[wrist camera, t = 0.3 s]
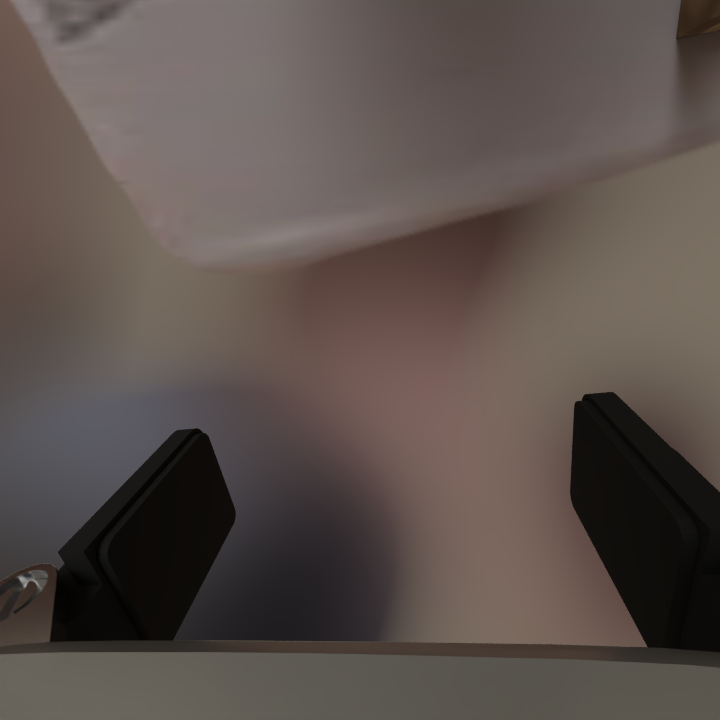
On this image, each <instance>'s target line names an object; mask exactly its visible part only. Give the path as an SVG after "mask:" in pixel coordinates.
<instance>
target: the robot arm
mask: <svg viewBox="0 0 720 720" xmlns="http://www.w3.org/2000/svg"><path fill="white" fill-rule="evenodd" d="M573 424H574V425H573V445H572V465H571V487H570V495H571V500H572V504H573V507H574V509H575V511H576V513H577V515H578V516H579V519H580V521H581V522H582V524H583V526H584V528H585V530H586V532H587V533H588V536H589V537H590V539H591V541H592V543H593V545H594V547H595V548H596V551H597V553H598V554H599V556H600V558H601V560H602V562H603V564H604V566H605V568H606V569H607V571H608V573H609V575H610V577H611V579H612V581H613V583H614V584H615V586H616V588H617V590H618V592H619V594H620V596H621V598H622V599H623V601H624V603H625V605H626V607H627V609H628V611H629V613H630V615H631V617H632V618H633V620H634V622H635V624H636V626H637V628H638V630H639V632H640V633H641V635H642V637H643V639H644V641H645V643H646V644H647V647H617V646H615V647H614V646H586V645H554V644H488V643H486V644H485V643H422V642H421V643H419V642H331V641H330V642H329V641H328V642H327V641H173V639H174V637H175V635H176V633H177V631H178V629H179V627H180V626H181V624H182V622H183V620H184V618H185V616H186V614H187V612H188V610H189V608H190V606H191V605H192V603H193V601H194V599H195V597H196V595H197V593H198V591H199V589H200V587H201V585H202V583H203V581H204V580H205V578H206V576H207V574H208V572H209V570H210V568H211V566H212V564H213V562H214V560H215V558H216V557H217V555H218V553H219V551H220V549H221V547H222V545H223V543H224V541H225V539H226V537H227V536H228V534H229V532H230V530H231V527H232V526H233V524H234V521H235V515H236V514H235V508H234V505H233V502H232V499H231V497H230V494H229V491H228V489H227V486H226V483H225V480H224V478H223V475H222V472H221V469H220V467H219V464H218V461H217V458H216V456H215V453H214V450H213V447H212V445H211V442H210V439H209V437H208V436H207V434H205V433H203V432H202V431H201V430H200V429H185V430H177V431H175V432H174V433H173V434H172V435H171V436H170V437H169V438H168V439H167V440H166V441H165V442H164V443H163V444H162V445H161V446H160V447H159V448H158V449H157V451H155V452H154V453H153V454H152V456H150V457H149V459H148V460H147V461H146V462H145V463H144V464H143V465H142V466H141V467H140V468H139V469H138V470H137V471H136V472H135V473H134V474H133V475H132V476H131V477H130V478H129V479H128V480H127V481H126V482H125V483H124V484H123V485H122V486H121V487H120V489H119V490H117V492H116V493H115V494H114V495H113V496H112V497H111V498H110V499H109V500H108V501H107V502H106V503H105V504H104V505H103V506H102V507H101V508H100V509H99V510H98V511H97V512H96V513H95V514H94V516H92V517H91V518H90V520H89V521H88V522H87V523H85V525H84V526H83V527H82V528H81V529H80V530H79V531H78V532H77V533H76V534H75V535H74V536H73V537H72V538H71V539H70V540H69V541H68V542H67V543H66V544H65V545H64V546H63V547H62V548H61V549H60V550H59V551H58V553H59V555H60V556H61V558H62V560H63V561H64V563H65V564H64V565H63V566H62V567H61V568H60V570H59V571H58V570H57V569H56V567H54V566H53V565H51V564H38V565H33V566H30V567H27V568H25V569H22V570H20V571H18V572H16V573H14V574H12V575H10V576H9V577H7V578H5V579H3V580H2V581H1V582H0V720H720V492H719V491H718V490H717V489H716V488H715V487H714V486H713V485H711V484H710V483H709V482H708V481H707V480H706V479H705V478H704V477H703V476H702V475H701V474H700V473H699V472H698V471H697V470H696V469H695V468H694V467H693V466H692V465H691V464H690V463H689V462H687V461H686V460H685V459H684V458H683V457H682V456H681V455H680V454H679V453H678V452H677V451H675V450H674V449H673V448H671V447H670V446H669V445H668V444H667V443H666V442H665V441H664V440H663V439H662V438H661V437H660V436H659V435H658V434H657V433H655V431H654V430H653V429H651V428H650V427H649V426H648V425H647V424H646V423H645V422H644V421H643V420H642V419H641V418H640V417H639V416H638V415H637V414H636V413H635V412H634V411H633V410H632V409H631V408H630V407H628V405H627V404H625V403H624V402H623V401H622V400H621V399H620V398H619V397H618V396H617V395H616V394H615V393H613V392H607V393H595V394H585V395H584V396H583V398H582V401H577V402H575V406H574V423H573Z"/></svg>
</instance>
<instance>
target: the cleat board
mask: <svg viewBox="0 0 720 720" xmlns="http://www.w3.org/2000/svg"><path fill="white" fill-rule="evenodd" d="M719 30H720V0H681V8H680V15H679V23H678V30H677V38H682V37H688V36H693V35H698V34H703V33H708V32H714V31H719ZM677 38H676V39H677Z"/></svg>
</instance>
